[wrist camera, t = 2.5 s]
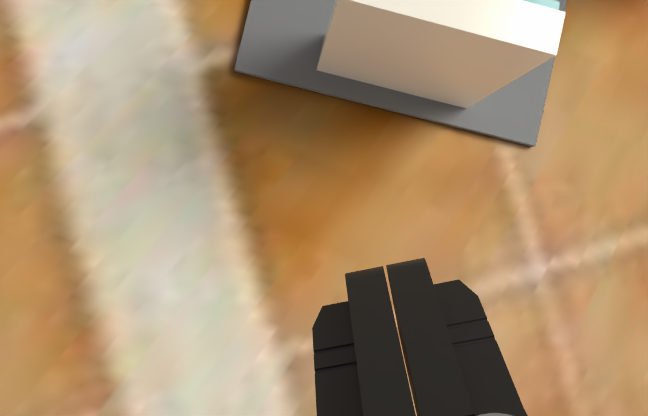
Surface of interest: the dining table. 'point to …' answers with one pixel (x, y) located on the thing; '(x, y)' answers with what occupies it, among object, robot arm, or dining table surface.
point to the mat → (301, 71)
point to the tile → (440, 44)
